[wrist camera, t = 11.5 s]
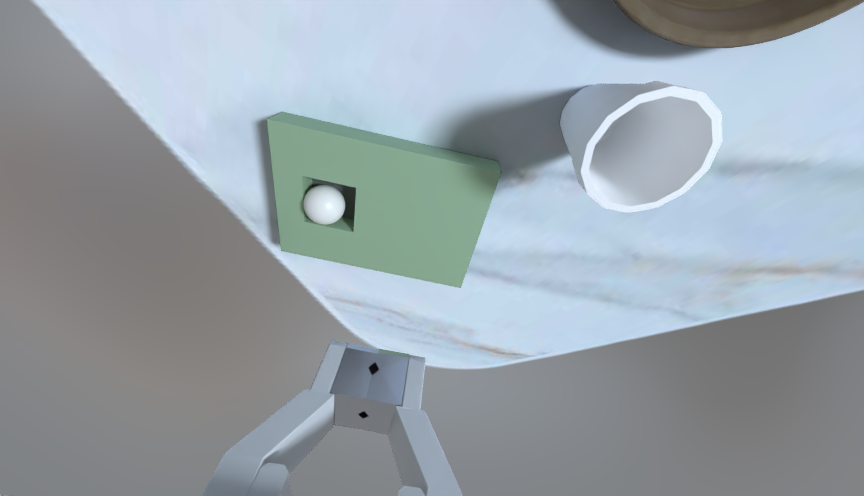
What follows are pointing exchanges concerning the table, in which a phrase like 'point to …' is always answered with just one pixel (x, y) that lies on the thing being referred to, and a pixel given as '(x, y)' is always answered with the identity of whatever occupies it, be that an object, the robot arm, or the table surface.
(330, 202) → the ball
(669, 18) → the plant saucer
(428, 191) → the green
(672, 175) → the foam cup
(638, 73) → the table surface
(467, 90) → the table surface
